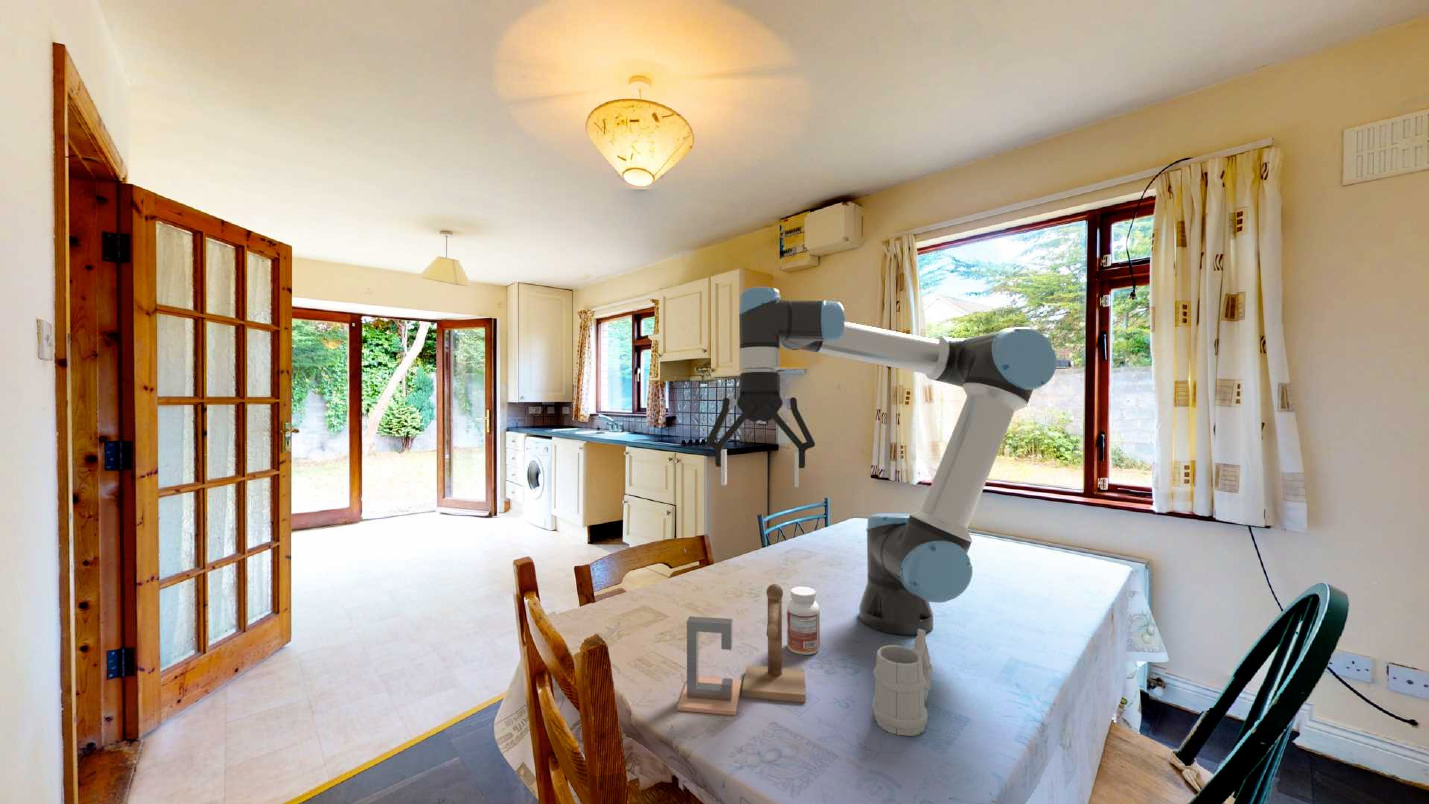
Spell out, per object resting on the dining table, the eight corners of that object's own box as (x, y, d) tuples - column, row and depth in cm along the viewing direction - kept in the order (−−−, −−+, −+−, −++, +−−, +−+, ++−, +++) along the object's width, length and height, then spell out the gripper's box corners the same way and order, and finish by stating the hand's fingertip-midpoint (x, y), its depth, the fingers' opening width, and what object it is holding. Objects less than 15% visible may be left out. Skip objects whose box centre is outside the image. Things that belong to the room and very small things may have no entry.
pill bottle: (796, 638, 105) (795, 582, 105) (824, 646, 101) (824, 589, 101) (781, 650, 100) (781, 592, 100) (811, 659, 96) (811, 598, 96)
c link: (732, 694, 83) (732, 618, 83) (731, 701, 81) (730, 624, 81) (689, 690, 84) (689, 616, 84) (686, 697, 82) (686, 621, 82)
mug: (861, 718, 78) (861, 638, 78) (906, 692, 85) (906, 618, 85) (907, 745, 72) (907, 657, 72) (952, 714, 79) (952, 634, 79)
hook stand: (746, 672, 91) (746, 579, 91) (804, 676, 90) (804, 582, 90) (738, 719, 78) (738, 610, 78) (806, 725, 76) (806, 614, 76)
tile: (741, 683, 87) (741, 680, 87) (735, 715, 79) (735, 711, 79) (688, 679, 89) (688, 676, 89) (677, 710, 80) (677, 706, 80)
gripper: (826, 372, 100) (826, 483, 100) (697, 373, 103) (698, 480, 103) (828, 369, 92) (829, 489, 92) (690, 371, 96) (690, 486, 96)
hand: (759, 485), depth 98 cm, fingers open, 13 cm apart
